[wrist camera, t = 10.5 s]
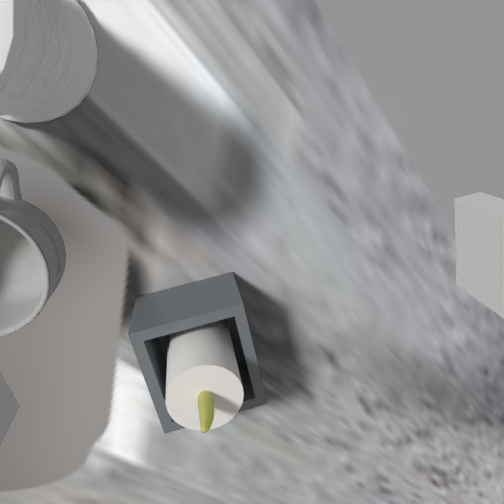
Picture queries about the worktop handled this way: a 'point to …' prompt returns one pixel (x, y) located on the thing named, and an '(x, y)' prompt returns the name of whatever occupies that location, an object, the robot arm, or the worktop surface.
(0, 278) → the teacup
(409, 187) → the worktop surface
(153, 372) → the slate holder
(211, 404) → the candle
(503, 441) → the worktop surface
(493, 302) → the robot arm
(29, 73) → the decorative container
